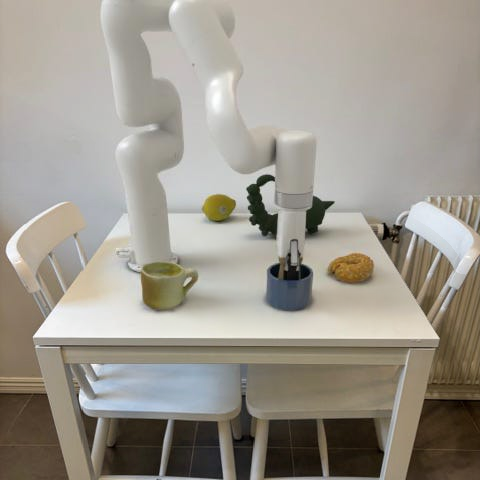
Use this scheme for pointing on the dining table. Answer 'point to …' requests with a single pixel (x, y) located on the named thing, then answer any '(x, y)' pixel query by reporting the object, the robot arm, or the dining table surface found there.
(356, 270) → the bagel
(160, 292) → the mug
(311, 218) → the toy figurine
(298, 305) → the crock
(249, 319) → the dining table surface
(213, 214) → the lemon
